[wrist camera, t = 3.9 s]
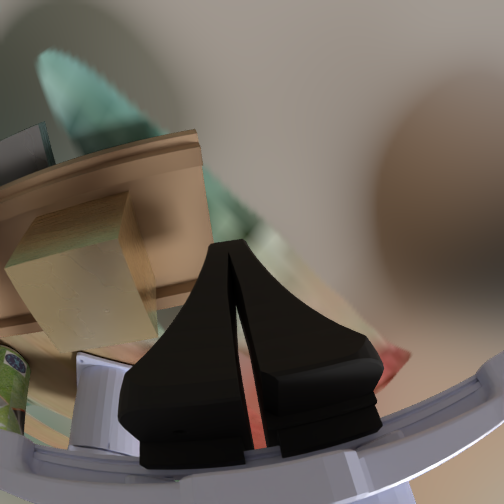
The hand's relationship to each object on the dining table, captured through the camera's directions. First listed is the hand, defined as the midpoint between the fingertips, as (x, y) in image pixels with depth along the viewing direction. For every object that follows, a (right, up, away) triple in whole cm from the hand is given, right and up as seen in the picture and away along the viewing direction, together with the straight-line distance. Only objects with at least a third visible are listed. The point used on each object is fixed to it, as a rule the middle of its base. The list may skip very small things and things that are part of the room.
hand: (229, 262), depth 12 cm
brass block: (-7, +1, +1) cm, 7 cm away
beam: (-14, 0, +2) cm, 14 cm away
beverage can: (-25, -11, +11) cm, 29 cm away
